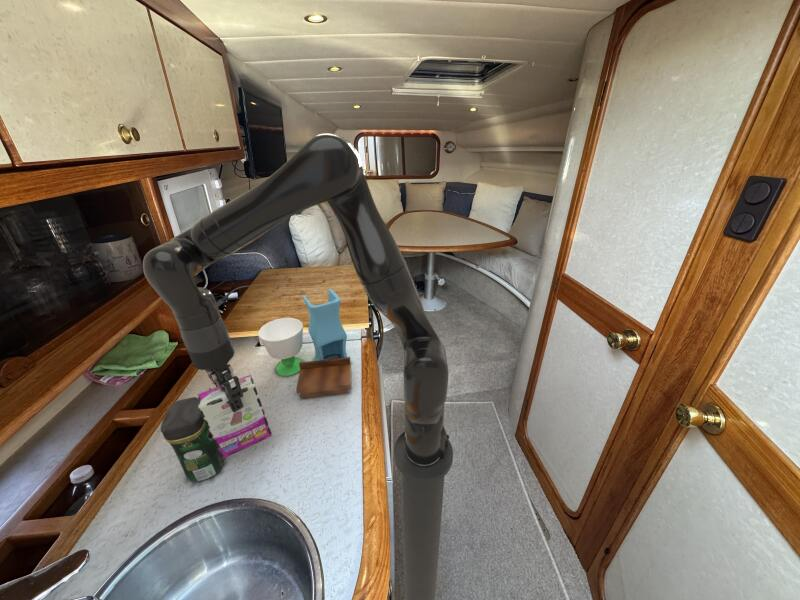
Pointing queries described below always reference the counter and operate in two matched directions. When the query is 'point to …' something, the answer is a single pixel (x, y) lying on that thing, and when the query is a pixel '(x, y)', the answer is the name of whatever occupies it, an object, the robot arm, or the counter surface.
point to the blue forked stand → (326, 327)
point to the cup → (283, 343)
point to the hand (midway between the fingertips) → (231, 401)
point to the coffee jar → (191, 440)
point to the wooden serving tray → (324, 377)
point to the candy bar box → (234, 418)
